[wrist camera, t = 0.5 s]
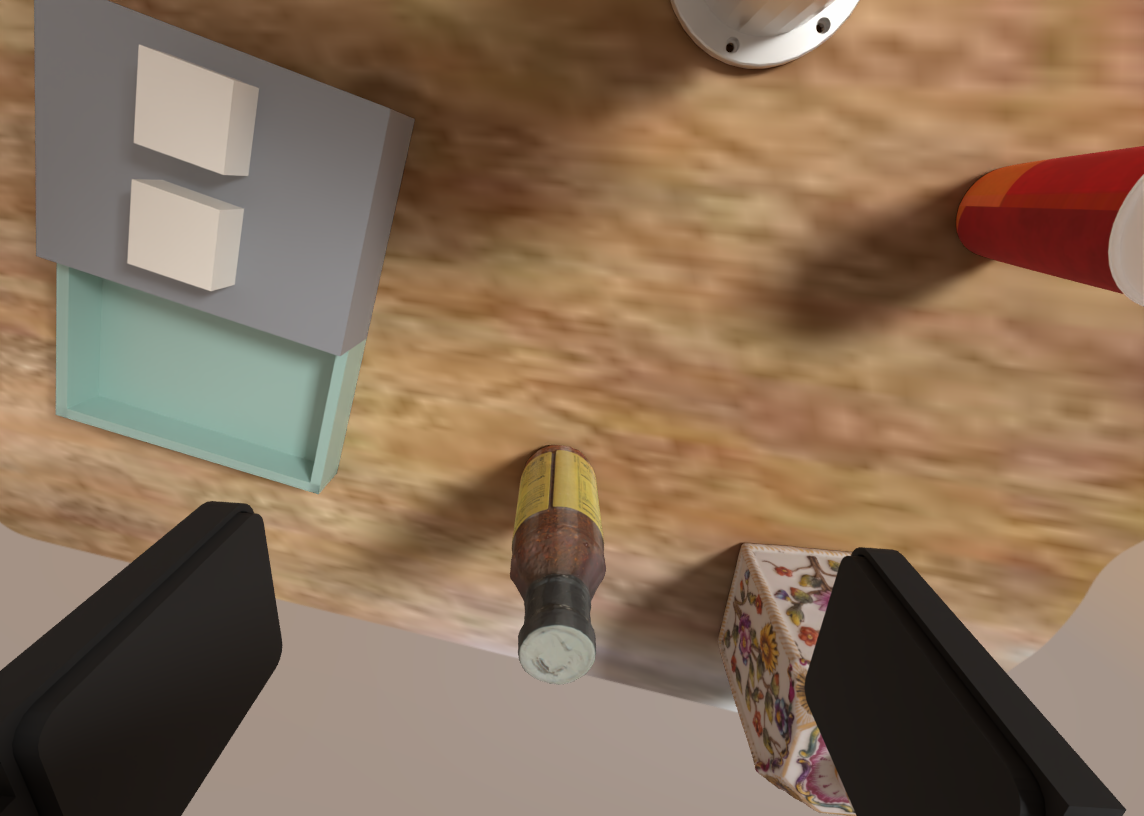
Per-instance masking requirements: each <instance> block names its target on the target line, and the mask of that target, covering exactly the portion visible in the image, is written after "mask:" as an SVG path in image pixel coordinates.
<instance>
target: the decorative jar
mask: <svg viewBox="0 0 1144 816" xmlns="http://www.w3.org/2000/svg"><path fill="white" fill-rule="evenodd" d="M851 554H852V552H843V551H833V550H822V549H811V548H800V547H791V546H782V545H766V544H753V543H744V544H742V546H741V550H740V553H739V556H738V560H737V565H736V569H735V573H734V577H733V581H732V585H731V589H730V593H729V596H728V601H727V604H726V608H725V613H724V617H723V622H722V625H721V629H720V633H719V637H718V645H719V649H720V653H721V657H722V660H723V664H724V667H725V671H726V674H727V677H728V681H729V684H730V687H731V690H732V694H733V697H734V700H735V704H736V707H737V710H738V713H739V716H740V719H741V723H742V726H743V728H744V732H745V734H746V738H747V741H748V744H749V747H750V750H751V754H752V757H753V761H754V765H755V769H756V771H757V772H758V773H759V774H760V775H762V776H763V777H764V778H766V779H767V780H768V781H769V782H771V783H772V784H774V785H775V786H776V787H777V788H779V789H782V790H784V791H786V792H787V793H788V794H789V795H791V796H792V797H793V798H795V799H797V800H799V801H801V802H803V803H805V804H806V805H807V806H809V807H810V808H812V809H813V810H815V811H817V812H819V813H830V814H839V815H847V816H856V813H855V811H854V809H853V807H852V804H851V802H850V800H849V797H848V795H847V793H846V791H845V788H844V786H843V784H842V781H841V779H840V777H839V775H838V772H837V770H836V768H835V765H834V763H833V761H832V759H831V756H830V754H829V752H828V750H827V747H826V745H825V743H824V740H823V738H822V736H821V734H820V731H819V729H818V727H817V724H816V722H815V720H814V718H813V715H812V713H811V711H810V709H809V706H808V704H807V701H806V696H805V678H806V674H807V671H808V668H809V665H810V661H811V658H812V655H813V651H814V648H815V645H816V641H817V638H818V635H819V631H820V628H821V625H822V622H823V618H824V615H825V612H826V608H827V605H828V602H829V598H830V595H831V592H832V589H833V585H834V582H835V579H836V575H837V572H838V569H839V565H840V563H841V560H842V559H843V558H844V557H845V556H851Z"/></svg>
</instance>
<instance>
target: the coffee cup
mask: <svg viewBox="0 0 1144 816" xmlns="http://www.w3.org/2000/svg"><path fill="white" fill-rule="evenodd" d="M956 230H957V234H958V237H959V239H960V241H961V242H962V244H963V245H964V246H965V247H966V248H967V249H968V250H970V251H971V252H973V253H975V254H977V255H980V256H983V257H986V258H990V259H993V260H996V261H1000V262H1004V263H1007V264H1011V265H1015V266H1018V267H1022V268H1026V269H1030V270H1033V271H1037V272H1041V273H1045V274H1048V275H1052V276H1056V277H1060V278H1064V279H1068V280H1071V281H1075V282H1079V283H1083V284H1087V285H1091V286H1095V287H1098V288H1102V289H1106V290H1110V291H1114V292H1118V293H1121V294H1124V295H1125V296H1127V297H1128V298H1129V299H1131V300H1132V301H1133V302H1135V303H1137V304H1139V305H1142V306H1144V146H1140V147H1133V148H1126V149H1119V150H1112V151H1105V152H1097V153H1090V154H1083V155H1076V156H1069V157H1063V158H1056V159H1049V160H1042V161H1036V162H1029V163H1023V164H1017V165H1012V166H1007V167H1003V168H999V169H996V170H994V171H992V172H989V173H988V174H986V175H984V176H983V177H981V178H980V179H979V180H978V181H976V182H975V183H974V184H973V185H972V186H971V187H970V189H969V190H968V191H967V193H966V194H965V196H964V197H963V199H962V201H961V203H960V205H959V208H958V212H957V216H956Z"/></svg>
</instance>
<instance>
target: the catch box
mask: <svg viewBox="0 0 1144 816" xmlns="http://www.w3.org/2000/svg"><path fill="white" fill-rule="evenodd" d="M366 339H367V338H366ZM366 339H365V340H364V341H362V342H361V343H359V344H358V345H356V346H355V347H353V348H352V349H350V350H349V351H348V352H346V353H345V354H343V355H342V356H337V355H334V354H331V353H328V352H325V351H322V350H319V349H316V348H313V347H310V346H307V345H304V344H301V343H298V342H295V341H292V340H289V339H286V338H283V337H280V336H277V335H274V334H271V333H267V332H264V331H261V330H258V329H255V328H252V327H249V326H246V325H243V324H240V323H237V322H234V321H231V320H228V319H225V318H222V317H219V316H216V315H213V314H210V313H207V312H204V311H201V310H198V309H195V308H192V307H189V306H186V305H183V304H180V303H177V302H174V301H171V300H168V299H165V298H162V297H159V296H156V295H153V294H150V293H147V292H144V291H141V290H138V289H134V288H131V287H128V286H125V285H122V284H119V283H116V282H113V281H110V280H107V279H104V278H101V277H98V276H95V275H92V274H89V273H86V272H83V271H80V270H77V269H74V268H71V267H68V266H65V265H62V264H59V263H57V291H56V415H58V416H62V417H65V418H68V419H72V420H75V421H78V422H81V423H85V424H88V425H91V426H95V427H98V428H101V429H105V430H108V431H111V432H115V433H118V434H121V435H124V436H128V437H131V438H134V439H138V440H141V441H144V442H148V443H151V444H154V445H157V446H161V447H164V448H167V449H171V450H174V451H177V452H181V453H184V454H187V455H191V456H194V457H197V458H200V459H204V460H207V461H210V462H214V463H217V464H220V465H224V466H227V467H230V468H233V469H237V470H240V471H243V472H247V473H250V474H253V475H257V476H260V477H263V478H267V479H270V480H273V481H276V482H280V483H283V484H286V485H290V486H293V487H296V488H300V489H303V490H306V491H309V492H313V493H316V494H319V493H320V492H321V491H322V490H323V489H324V487H325V486H326V485H327V484H328V483H329V482H330V481H331V479H332V478H333V477H334V476H335V475H336V474H337V470H338V466H339V461H340V457H341V452H342V448H343V443H344V439H345V434H346V430H347V425H348V421H349V416H350V411H351V407H352V402H353V398H354V393H355V389H356V384H357V380H358V375H359V371H360V366H361V362H362V357H363V353H364V348H365V343H366Z"/></svg>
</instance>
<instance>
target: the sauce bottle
mask: <svg viewBox="0 0 1144 816" xmlns="http://www.w3.org/2000/svg"><path fill="white" fill-rule="evenodd" d="M605 572H606V565H605V559H604V540H603V532H602V525H601V517H600V508H599V500H598V492H597V483H596V476H595V473H594V471H593V468H592V467H591V465H590V463H589V461H588V460H587V459H586V458H585V456H584V455H583V454H582V453H581V452H580V451H579V450H576V449H573V448H571V447H566V446H558V445H551V446H547V447H544V448H542V449H540V450H538V451H537V452H536V453H535V454H534V455H532V456H531V458H529V460H528V461H527V462H526V465H525V469H524V471H523V474H522V476H521V480H520V488H519V495H518V503H517V509H516V517H515V525H514V533H513V539H512V559H511V571H510V578H511V580H512V581H513V582H514V584H515V585H516V587H517V589H518V591H519V592H520V594H521V596H522V598H523V600H524V605H525V617H524V619H525V620H524V625H523V626H522V628H521V630H520V632H519V635H518V655H519V661H520V663H521V665H522V667H523V669H524V670H525V671H526V672H527V673H528V674H529V675H531V676H532V677H534V678H536V679H538V680H541V681H544V682H547V683H550V684H566V683H570V682H573V681H575V680H577V679H579V678H580V677H582V676H583V675H585V674H586V673H587V672H588V671H589V669H590V668H591V667H592V665H593V663H594V661H595V655H596V642H595V641H596V638H595V633H594V629H593V628H592V625H591V619H590V610H591V600H592V598H593V596H594V594H595V592H596V590H597V588H598V586H599V584H600V583H601V582H602V580H603V578H604V576H605Z"/></svg>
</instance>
